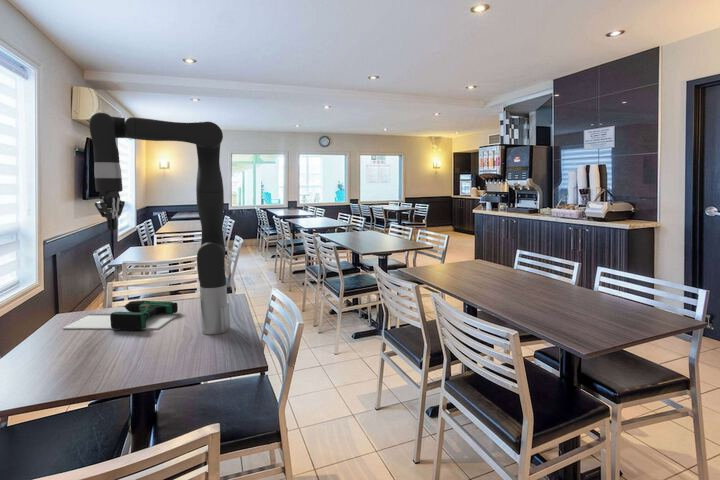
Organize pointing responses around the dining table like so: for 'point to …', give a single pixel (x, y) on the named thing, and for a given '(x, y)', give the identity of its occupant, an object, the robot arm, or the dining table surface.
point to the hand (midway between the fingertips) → (112, 229)
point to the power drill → (140, 314)
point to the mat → (105, 323)
